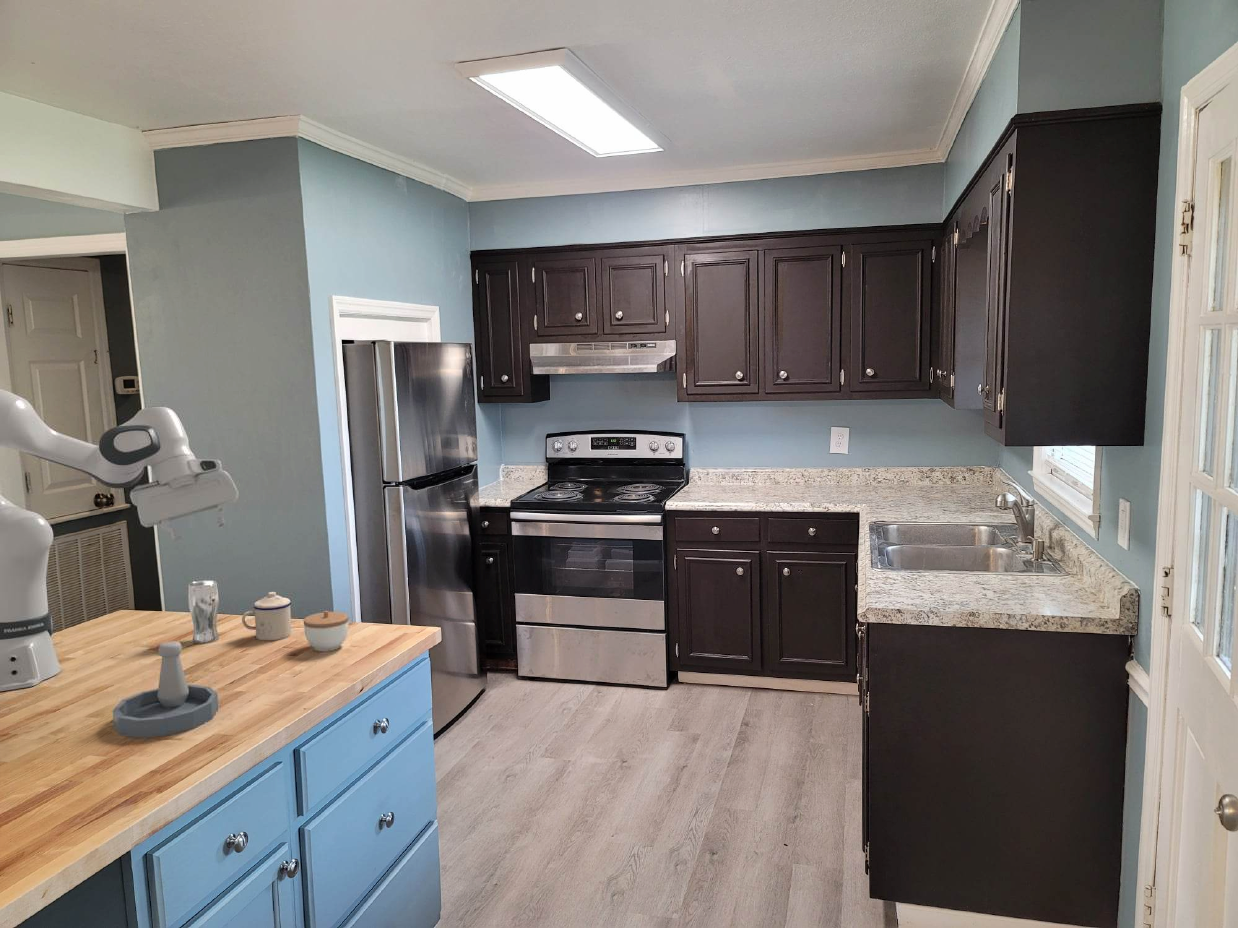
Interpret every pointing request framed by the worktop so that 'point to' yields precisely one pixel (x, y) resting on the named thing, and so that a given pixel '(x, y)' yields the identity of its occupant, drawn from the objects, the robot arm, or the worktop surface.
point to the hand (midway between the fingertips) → (199, 532)
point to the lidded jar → (326, 630)
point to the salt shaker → (171, 676)
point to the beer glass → (204, 610)
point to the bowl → (164, 713)
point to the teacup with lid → (271, 618)
